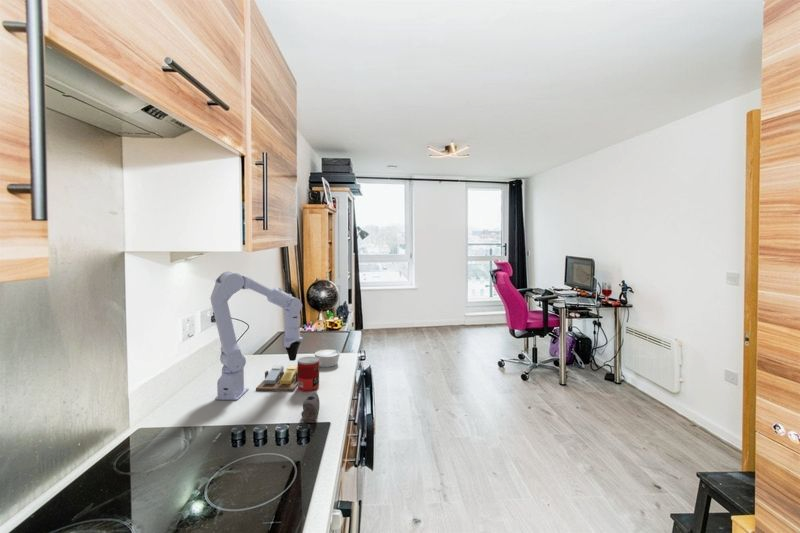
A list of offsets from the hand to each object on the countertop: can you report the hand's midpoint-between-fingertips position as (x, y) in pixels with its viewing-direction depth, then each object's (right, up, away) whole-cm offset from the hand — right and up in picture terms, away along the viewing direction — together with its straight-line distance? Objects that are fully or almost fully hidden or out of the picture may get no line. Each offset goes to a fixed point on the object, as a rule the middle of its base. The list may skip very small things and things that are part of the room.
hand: (292, 360), depth 145 cm
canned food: (+8, -9, -8) cm, 14 cm away
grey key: (-6, -5, -4) cm, 9 cm away
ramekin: (+10, -7, +19) cm, 23 cm away
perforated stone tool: (+15, -10, -30) cm, 35 cm away
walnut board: (-3, -8, -3) cm, 9 cm away
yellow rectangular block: (0, -5, -4) cm, 6 cm away
